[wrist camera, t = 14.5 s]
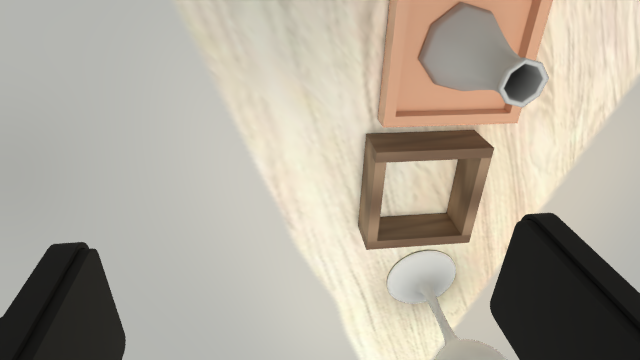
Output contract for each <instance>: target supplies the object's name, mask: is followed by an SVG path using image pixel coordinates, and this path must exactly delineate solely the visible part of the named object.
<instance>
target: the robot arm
mask: <svg viewBox="0 0 640 360" xmlns="http://www.w3.org/2000/svg"><path fill="white" fill-rule="evenodd" d="M490 309H491V313H492V315H493V317H494V319H495V320H496V322H497V324H498V325H499V327H500V329H501V330H502V332H503V333H504V335H505V337H506V338H507V340H508V341H509V343H510V345H511V346H512V348H513V349H514V351H515V353H516V354H517V356H518V358H519V359H520V360H640V293H639V292H637V290H636V289H635V288H633V287H632V286H631V285H630V284H629V283H628V282H627V281H626V280H625V279H624V278H623V277H622V276H621V275H620V274H618V273H617V272H616V271H615V270H614V269H613V268H612V267H611V266H610V265H609V264H608V263H607V262H606V261H605V260H603V259H602V258H601V257H600V256H599V255H598V254H597V253H596V252H595V251H594V250H593V249H592V248H591V247H590V246H589V245H587V244H586V243H585V242H584V241H583V240H582V239H581V238H580V237H579V236H578V235H577V234H576V233H575V232H573V230H571V229H570V228H569V227H568V226H567V225H566V224H565V223H564V222H563V221H561V219H560V218H559V217H557V216H556V215H554V214H553V213H539V214H527V215H525V216H524V217H523V218H522V220H521V221H519V222H518V223H517V224H516V226H515V228H514V231H513V234H512V237H511V240H510V243H509V246H508V249H507V252H506V255H505V258H504V262H503V265H502V268H501V271H500V274H499V277H498V280H497V283H496V286H495V289H494V292H493V295H492V298H491V301H490ZM125 341H126V340H125V333H124V330H123V327H122V324H121V321H120V318H119V315H118V312H117V309H116V306H115V303H114V300H113V297H112V294H111V290H110V288H109V285H108V281H107V279H106V275H105V272H104V269H103V266H102V263H101V260H100V258H99V254H98V252H97V250H96V249H89V247H88V245H87V244H86V243H84V242H77V243H62V244H53V245H51V246H50V247H49V248H48V249H47V251H46V253H45V254H44V256H43V257H42V259H41V260H40V262H39V263H38V265H37V266H36V268H35V269H34V271H33V272H32V274H31V275H30V277H29V278H28V280H27V281H26V283H25V284H24V286H23V287H22V289H21V290H20V292H19V293H18V295H17V296H16V298H15V299H14V301H13V302H12V304H11V305H10V307H9V308H8V310H7V311H6V313H5V314H4V316H3V317H1V318H0V360H122V357H123V354H124V350H125Z"/></svg>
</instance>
